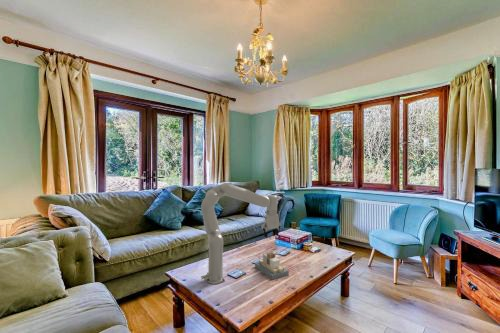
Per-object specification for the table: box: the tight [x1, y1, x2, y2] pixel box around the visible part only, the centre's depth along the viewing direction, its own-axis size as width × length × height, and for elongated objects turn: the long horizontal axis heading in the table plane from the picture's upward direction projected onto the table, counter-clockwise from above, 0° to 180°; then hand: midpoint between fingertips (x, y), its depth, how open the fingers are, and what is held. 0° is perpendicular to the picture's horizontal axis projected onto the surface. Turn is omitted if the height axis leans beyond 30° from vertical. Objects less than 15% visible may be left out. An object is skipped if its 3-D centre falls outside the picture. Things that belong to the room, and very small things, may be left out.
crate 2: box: [270, 256, 281, 268], centre depth 162 cm, size 5×5×5 cm
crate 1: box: [262, 252, 268, 263], centre depth 170 cm, size 5×5×5 cm
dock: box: [255, 261, 290, 280], centre depth 166 cm, size 14×22×4 cm, turn 30°
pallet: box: [258, 251, 285, 274], centre depth 166 cm, size 8×20×10 cm, turn 30°
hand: (271, 236), depth 166 cm, fingers open, 9 cm apart
